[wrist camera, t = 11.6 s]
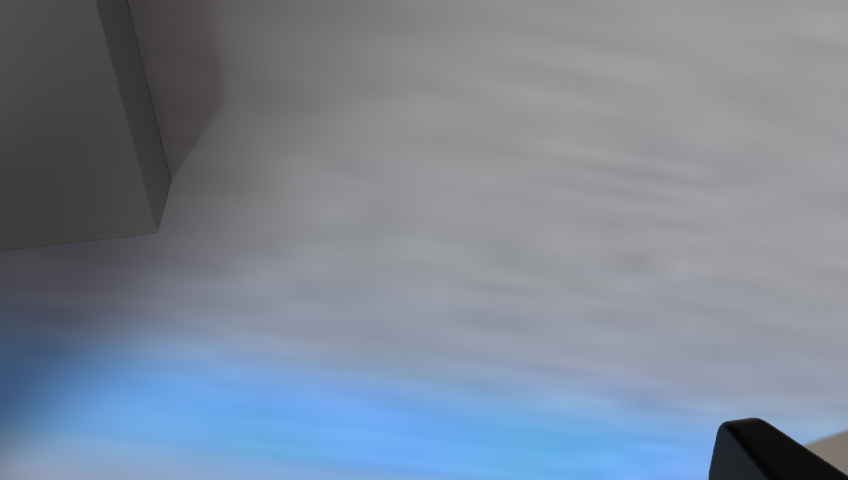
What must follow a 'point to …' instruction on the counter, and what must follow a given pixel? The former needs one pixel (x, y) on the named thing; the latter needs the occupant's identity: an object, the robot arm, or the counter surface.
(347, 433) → the counter surface
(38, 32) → the grey square socket tray
